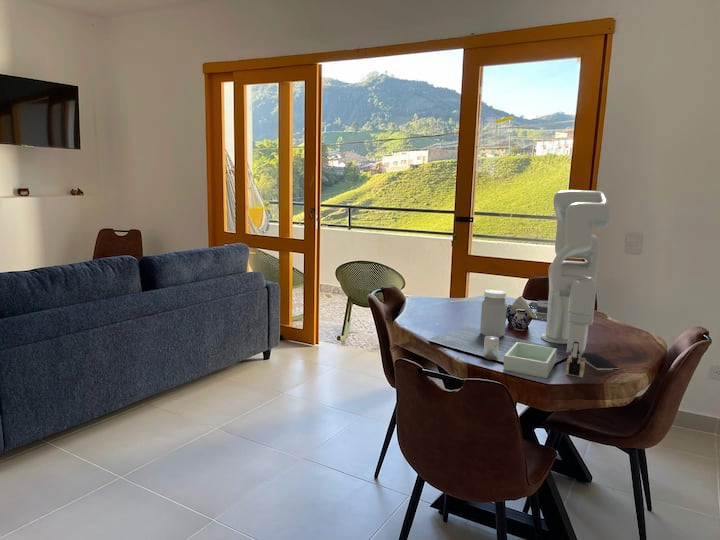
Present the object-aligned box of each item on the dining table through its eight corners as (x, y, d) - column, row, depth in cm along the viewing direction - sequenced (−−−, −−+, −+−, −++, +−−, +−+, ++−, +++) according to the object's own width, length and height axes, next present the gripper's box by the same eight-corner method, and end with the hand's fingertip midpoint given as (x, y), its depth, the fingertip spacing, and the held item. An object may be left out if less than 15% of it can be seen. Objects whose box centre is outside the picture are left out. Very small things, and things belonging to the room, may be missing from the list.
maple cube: (567, 369, 174) (569, 355, 173) (584, 372, 171) (585, 358, 170) (565, 374, 169) (567, 359, 168) (582, 377, 167) (583, 362, 166)
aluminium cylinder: (485, 353, 188) (486, 335, 187) (499, 356, 185) (500, 337, 184) (481, 357, 183) (482, 338, 182) (495, 360, 181) (497, 341, 180)
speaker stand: (529, 307, 262) (529, 301, 262) (578, 313, 251) (578, 307, 251) (518, 316, 242) (519, 310, 242) (571, 324, 231) (572, 317, 231)
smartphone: (597, 368, 174) (574, 353, 188) (596, 371, 174) (574, 356, 189) (620, 368, 175) (595, 352, 189) (619, 371, 175) (595, 356, 190)
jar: (505, 339, 206) (508, 294, 203) (480, 337, 208) (483, 293, 205) (503, 332, 216) (507, 289, 213) (479, 330, 218) (482, 288, 215)
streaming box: (567, 313, 253) (568, 302, 252) (569, 320, 239) (571, 309, 238) (536, 310, 257) (536, 300, 256) (536, 317, 243) (537, 306, 242)
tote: (515, 355, 187) (516, 341, 186) (555, 362, 180) (556, 348, 180) (503, 370, 172) (504, 355, 171) (546, 378, 165) (547, 363, 164)
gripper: (571, 310, 176) (566, 362, 179) (563, 321, 162) (558, 377, 165) (595, 314, 173) (590, 366, 176) (590, 325, 158) (584, 382, 161)
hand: (575, 371), depth 170 cm, fingers closed on maple cube, 5 cm apart
